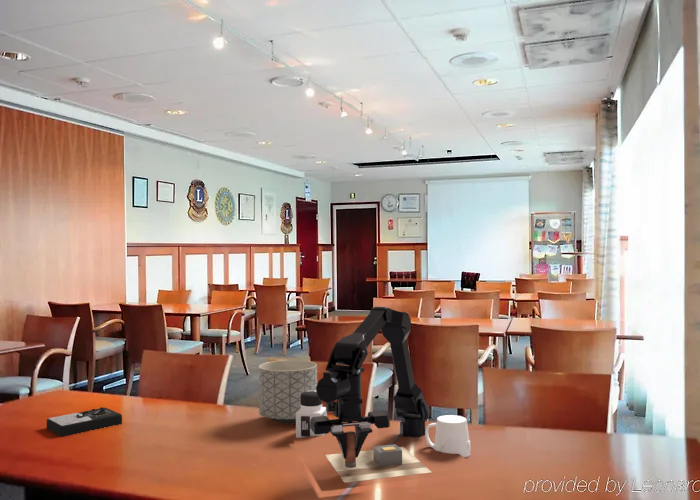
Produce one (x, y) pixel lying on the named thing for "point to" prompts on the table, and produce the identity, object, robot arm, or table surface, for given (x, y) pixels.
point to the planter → (284, 388)
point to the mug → (450, 435)
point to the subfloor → (375, 467)
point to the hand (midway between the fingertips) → (350, 457)
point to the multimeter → (83, 421)
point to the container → (308, 413)
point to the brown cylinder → (350, 449)
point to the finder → (387, 455)
